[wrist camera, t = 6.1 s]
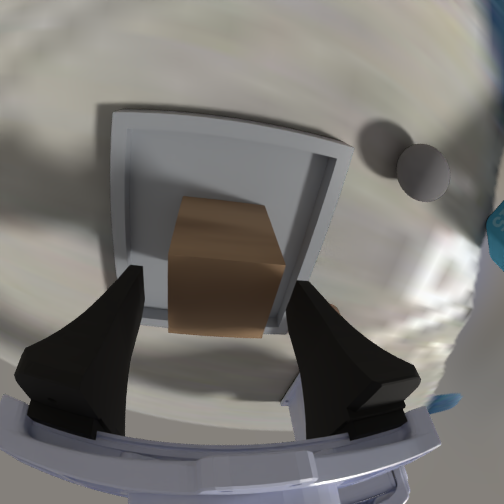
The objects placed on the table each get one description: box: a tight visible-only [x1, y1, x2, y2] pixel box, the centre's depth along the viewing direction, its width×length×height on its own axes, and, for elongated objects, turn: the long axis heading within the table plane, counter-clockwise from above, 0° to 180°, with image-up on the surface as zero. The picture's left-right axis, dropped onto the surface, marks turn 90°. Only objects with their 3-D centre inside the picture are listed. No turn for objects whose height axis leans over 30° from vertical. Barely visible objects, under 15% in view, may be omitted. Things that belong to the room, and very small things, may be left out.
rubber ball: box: [397, 144, 450, 202], centre depth 14 cm, size 4×4×4 cm
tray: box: [110, 109, 355, 334], centre depth 16 cm, size 14×12×2 cm
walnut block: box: [168, 196, 286, 338], centre depth 14 cm, size 4×4×6 cm
